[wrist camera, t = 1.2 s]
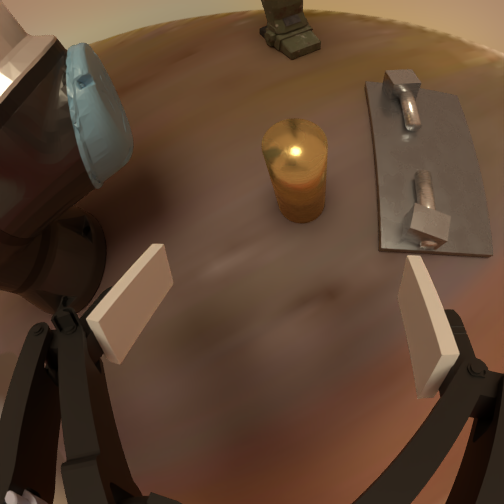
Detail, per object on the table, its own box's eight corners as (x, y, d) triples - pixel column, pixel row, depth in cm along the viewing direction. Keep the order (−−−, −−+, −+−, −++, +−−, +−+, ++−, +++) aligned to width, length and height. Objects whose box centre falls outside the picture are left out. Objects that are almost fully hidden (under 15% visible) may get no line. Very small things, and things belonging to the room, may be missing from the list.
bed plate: (488, 257, 26) (508, 246, 22) (378, 251, 29) (389, 237, 25) (454, 100, 31) (464, 80, 27) (364, 87, 34) (367, 63, 30)
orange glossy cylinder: (273, 218, 32) (254, 165, 22) (284, 177, 33) (270, 115, 23) (319, 227, 31) (321, 177, 21) (328, 185, 32) (332, 123, 21)
